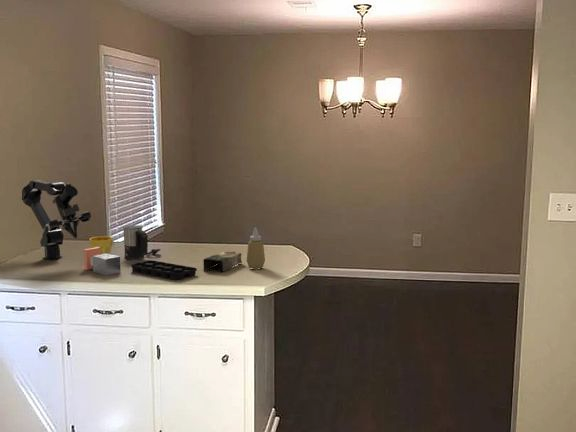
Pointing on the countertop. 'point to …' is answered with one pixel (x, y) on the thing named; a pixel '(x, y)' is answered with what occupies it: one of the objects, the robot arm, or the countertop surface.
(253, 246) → the squeeze bottle
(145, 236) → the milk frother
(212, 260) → the juice carton
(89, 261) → the pink block
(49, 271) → the countertop surface
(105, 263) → the housing
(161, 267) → the egg carton
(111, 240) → the plant pot
